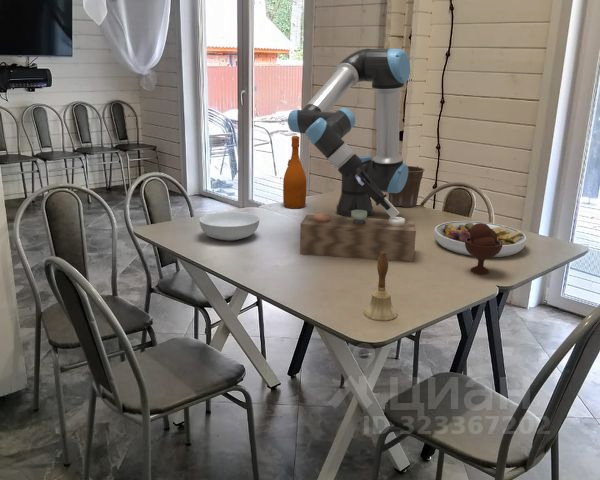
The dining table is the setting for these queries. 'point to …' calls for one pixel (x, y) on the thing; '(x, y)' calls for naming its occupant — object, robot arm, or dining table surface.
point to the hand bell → (381, 296)
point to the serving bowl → (229, 225)
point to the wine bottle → (294, 179)
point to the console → (357, 238)
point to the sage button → (359, 216)
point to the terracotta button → (321, 217)
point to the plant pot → (408, 189)
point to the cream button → (396, 221)
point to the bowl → (457, 231)
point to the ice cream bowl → (482, 246)
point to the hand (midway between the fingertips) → (395, 215)
